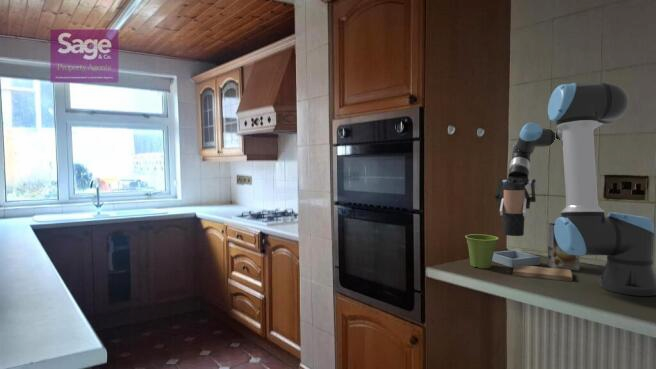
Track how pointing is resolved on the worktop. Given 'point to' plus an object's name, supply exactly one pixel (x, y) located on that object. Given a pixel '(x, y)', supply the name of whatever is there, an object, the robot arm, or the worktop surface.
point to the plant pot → (481, 249)
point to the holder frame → (520, 258)
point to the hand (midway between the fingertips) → (512, 213)
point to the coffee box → (560, 254)
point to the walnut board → (542, 272)
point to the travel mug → (513, 209)
